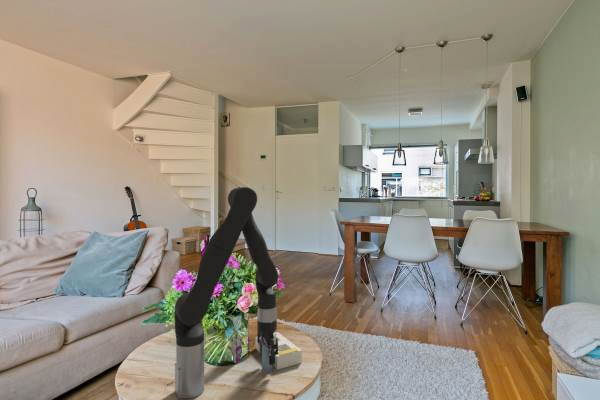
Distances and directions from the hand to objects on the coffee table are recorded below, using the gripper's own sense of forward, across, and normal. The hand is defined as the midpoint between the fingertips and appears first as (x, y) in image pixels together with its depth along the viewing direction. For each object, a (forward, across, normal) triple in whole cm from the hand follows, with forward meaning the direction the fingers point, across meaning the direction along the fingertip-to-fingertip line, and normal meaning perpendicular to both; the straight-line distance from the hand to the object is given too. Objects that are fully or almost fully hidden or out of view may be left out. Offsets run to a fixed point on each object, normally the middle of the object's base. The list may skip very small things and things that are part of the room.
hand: (267, 359), depth 131 cm
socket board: (+4, -9, +9) cm, 13 cm away
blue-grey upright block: (+4, 0, 0) cm, 4 cm away
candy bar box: (+4, -16, -6) cm, 18 cm away
